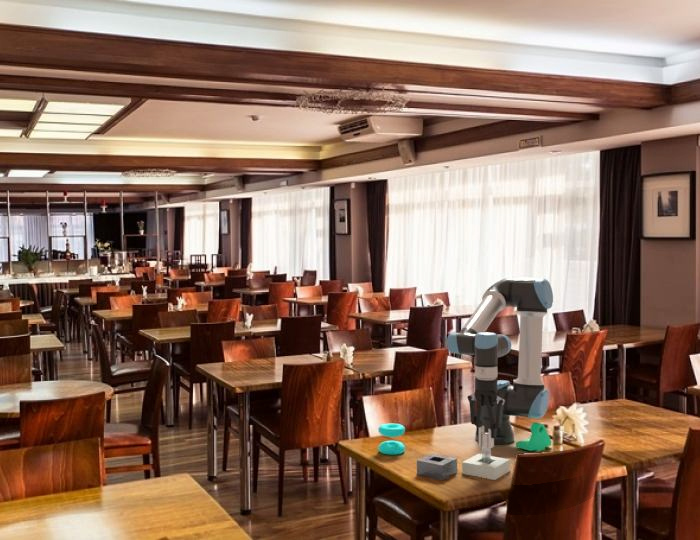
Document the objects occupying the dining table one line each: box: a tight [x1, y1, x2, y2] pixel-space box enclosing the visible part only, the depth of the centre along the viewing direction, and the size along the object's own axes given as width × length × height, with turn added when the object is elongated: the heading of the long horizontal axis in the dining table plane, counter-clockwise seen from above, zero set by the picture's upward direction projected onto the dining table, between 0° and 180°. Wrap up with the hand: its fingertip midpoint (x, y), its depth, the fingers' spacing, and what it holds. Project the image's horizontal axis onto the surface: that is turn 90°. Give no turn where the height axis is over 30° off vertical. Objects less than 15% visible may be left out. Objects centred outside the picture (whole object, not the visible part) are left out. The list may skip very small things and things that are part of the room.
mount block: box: [416, 452, 458, 481], centre depth 254 cm, size 10×10×5 cm
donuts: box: [378, 422, 406, 456], centre depth 281 cm, size 10×10×10 cm
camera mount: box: [515, 421, 552, 452], centre depth 284 cm, size 12×8×10 cm, turn 126°
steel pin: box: [481, 432, 492, 464], centre depth 255 cm, size 3×3×12 cm
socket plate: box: [461, 453, 511, 481], centre depth 255 cm, size 12×12×4 cm
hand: (486, 446), depth 255 cm, fingers closed on steel pin, 3 cm apart
